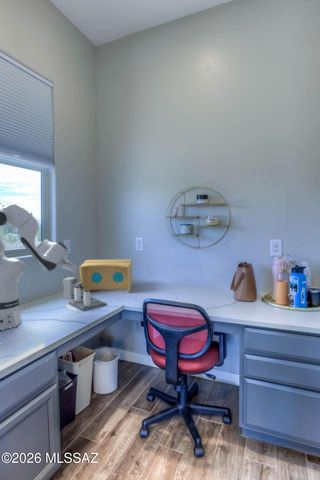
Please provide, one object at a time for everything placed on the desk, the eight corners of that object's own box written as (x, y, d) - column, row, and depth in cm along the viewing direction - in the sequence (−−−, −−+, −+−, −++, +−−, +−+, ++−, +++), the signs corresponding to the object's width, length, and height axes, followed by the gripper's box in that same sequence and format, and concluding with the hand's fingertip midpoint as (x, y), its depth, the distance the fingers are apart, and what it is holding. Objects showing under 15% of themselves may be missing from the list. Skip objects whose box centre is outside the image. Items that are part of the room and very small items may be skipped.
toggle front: (86, 306, 184) (85, 290, 183) (83, 305, 187) (82, 289, 186) (90, 305, 186) (90, 289, 185) (87, 304, 189) (87, 288, 188)
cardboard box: (131, 285, 248) (131, 259, 246) (129, 293, 222) (129, 264, 220) (87, 286, 247) (86, 259, 245) (80, 294, 221) (79, 264, 219)
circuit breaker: (80, 299, 207) (79, 279, 206) (63, 298, 210) (62, 279, 209) (84, 296, 214) (84, 277, 213) (68, 295, 217) (67, 277, 216)
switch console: (76, 312, 177) (76, 308, 177) (62, 305, 193) (62, 301, 193) (106, 305, 192) (106, 301, 192) (91, 298, 208) (91, 295, 208)
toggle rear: (76, 302, 194) (76, 287, 193) (74, 300, 197) (73, 286, 196) (81, 301, 196) (80, 286, 195) (78, 299, 199) (77, 285, 198)
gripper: (69, 257, 168) (85, 270, 176) (57, 254, 183) (71, 266, 191) (63, 265, 166) (78, 278, 173) (50, 261, 181) (65, 273, 188)
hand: (74, 272), depth 182 cm, fingers closed
